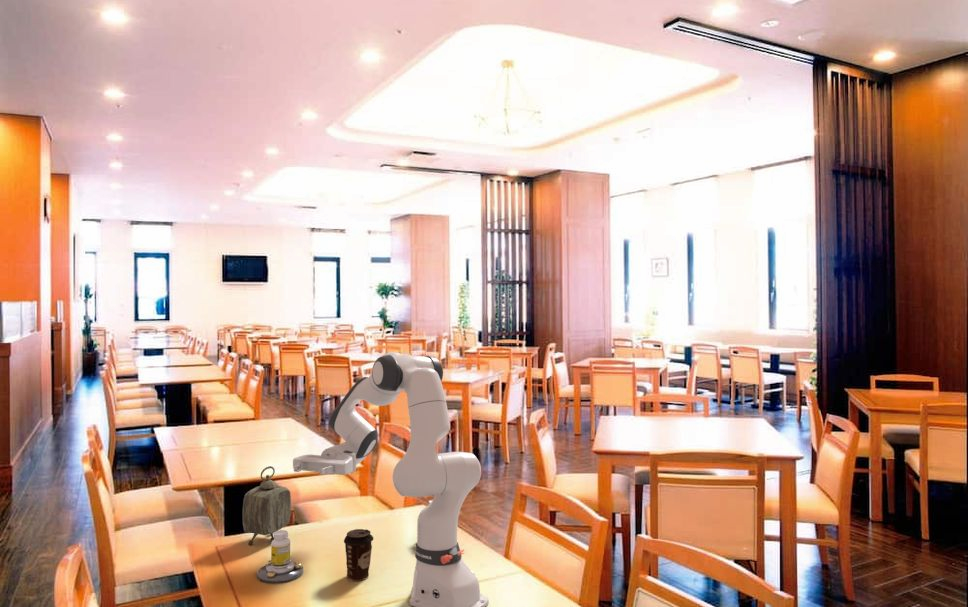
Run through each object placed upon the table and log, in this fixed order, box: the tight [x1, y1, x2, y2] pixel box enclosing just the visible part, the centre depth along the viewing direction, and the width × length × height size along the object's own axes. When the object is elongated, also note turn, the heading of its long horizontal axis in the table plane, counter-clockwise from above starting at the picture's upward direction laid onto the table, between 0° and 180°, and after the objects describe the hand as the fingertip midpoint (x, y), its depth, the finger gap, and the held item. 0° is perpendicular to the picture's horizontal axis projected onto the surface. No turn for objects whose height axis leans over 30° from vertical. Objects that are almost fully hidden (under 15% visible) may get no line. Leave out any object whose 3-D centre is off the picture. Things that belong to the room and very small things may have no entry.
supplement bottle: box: [270, 529, 291, 568], centre depth 196 cm, size 5×5×10 cm
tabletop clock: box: [241, 466, 292, 546], centre depth 222 cm, size 14×9×25 cm, turn 160°
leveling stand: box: [256, 559, 304, 584], centre depth 196 cm, size 13×13×3 cm
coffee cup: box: [343, 528, 374, 582], centre depth 195 cm, size 9×8×13 cm
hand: (307, 470), depth 206 cm, fingers open, 8 cm apart
